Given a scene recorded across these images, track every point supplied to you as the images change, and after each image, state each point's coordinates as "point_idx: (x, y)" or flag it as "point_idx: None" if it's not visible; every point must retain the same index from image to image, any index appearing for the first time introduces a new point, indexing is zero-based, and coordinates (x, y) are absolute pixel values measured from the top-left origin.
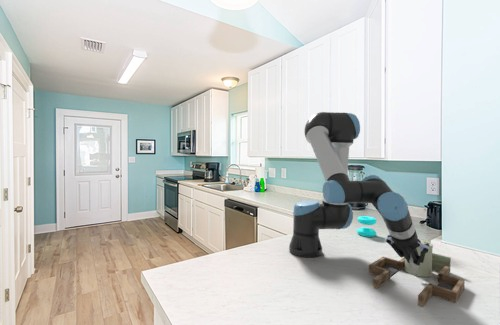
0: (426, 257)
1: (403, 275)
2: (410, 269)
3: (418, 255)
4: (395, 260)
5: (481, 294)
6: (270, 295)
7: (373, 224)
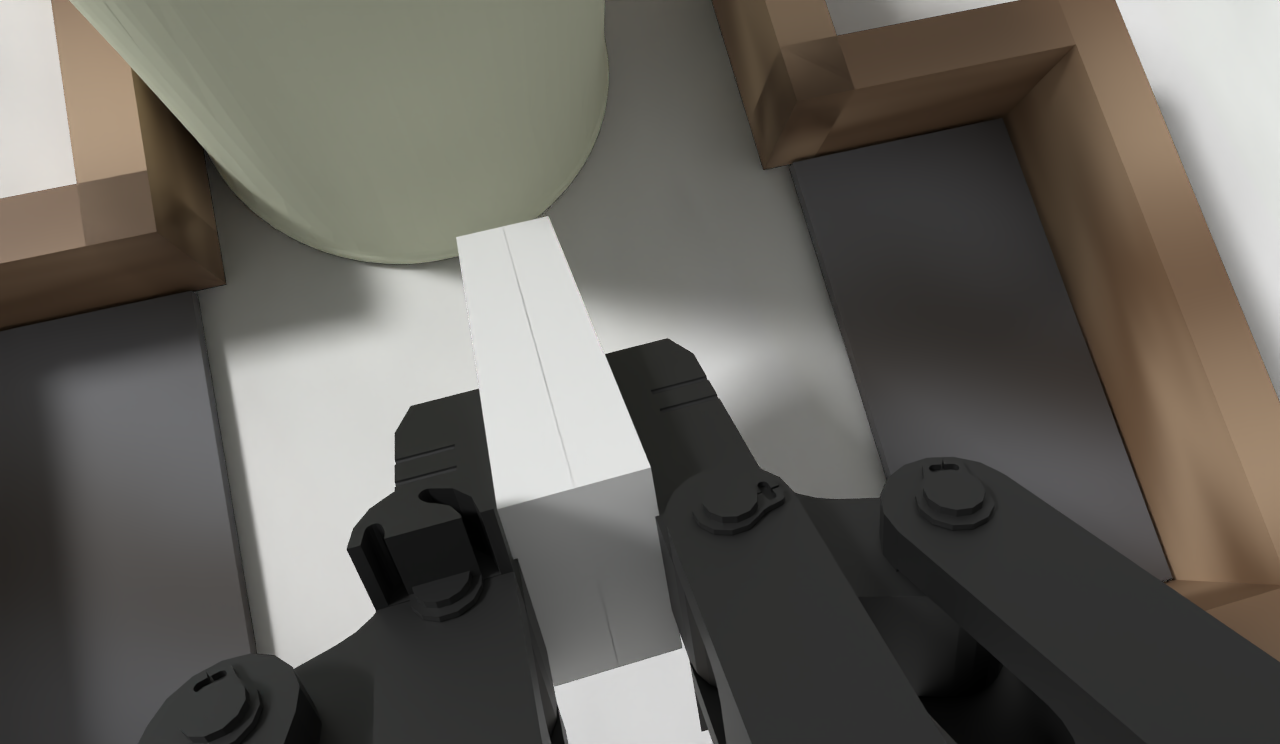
0: None
1: (370, 449)
2: (368, 231)
3: (817, 553)
4: (16, 226)
5: (1196, 47)
6: None
7: None
